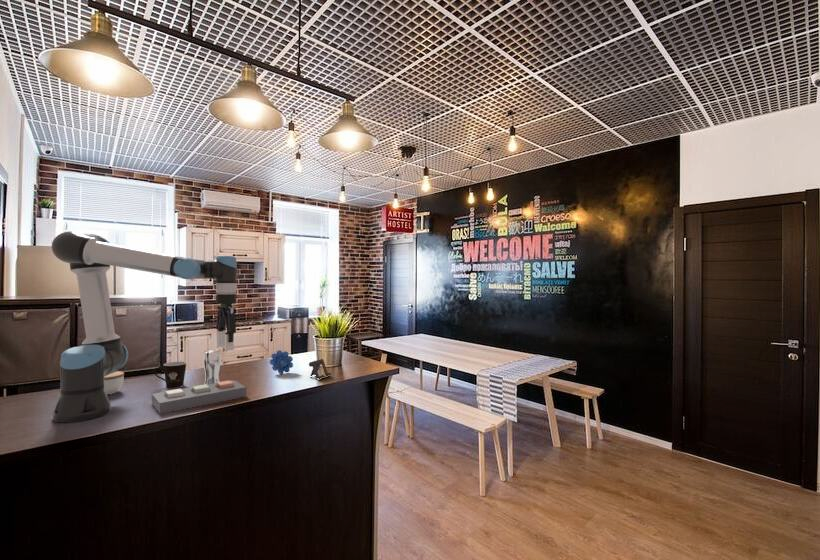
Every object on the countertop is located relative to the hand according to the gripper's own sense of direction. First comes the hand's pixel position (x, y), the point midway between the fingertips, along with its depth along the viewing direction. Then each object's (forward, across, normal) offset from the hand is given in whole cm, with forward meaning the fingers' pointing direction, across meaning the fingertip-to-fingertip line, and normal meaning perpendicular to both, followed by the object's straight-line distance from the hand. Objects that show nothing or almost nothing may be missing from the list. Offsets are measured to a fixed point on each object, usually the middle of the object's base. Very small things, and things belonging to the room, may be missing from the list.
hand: (225, 348), depth 156 cm
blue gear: (+20, +18, -33) cm, 42 cm away
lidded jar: (+20, +35, +35) cm, 53 cm away
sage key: (+17, 0, +9) cm, 19 cm away
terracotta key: (+17, 0, 0) cm, 17 cm away
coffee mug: (+20, +29, +13) cm, 38 cm away
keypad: (+19, 0, +9) cm, 21 cm away
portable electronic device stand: (+20, 0, -43) cm, 48 cm away
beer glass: (+20, +22, -2) cm, 29 cm away
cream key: (+17, 0, +18) cm, 25 cm away
